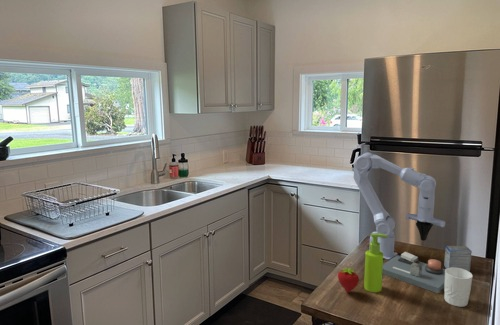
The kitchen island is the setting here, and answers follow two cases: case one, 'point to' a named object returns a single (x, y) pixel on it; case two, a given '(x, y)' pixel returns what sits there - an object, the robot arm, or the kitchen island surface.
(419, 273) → the slider knob
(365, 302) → the kitchen island surface
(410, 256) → the rocker switch
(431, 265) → the push button
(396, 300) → the kitchen island surface
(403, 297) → the kitchen island surface
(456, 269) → the white cup
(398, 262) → the panel
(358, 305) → the kitchen island surface
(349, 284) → the strawberry
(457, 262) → the medicine box
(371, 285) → the soap dispenser
